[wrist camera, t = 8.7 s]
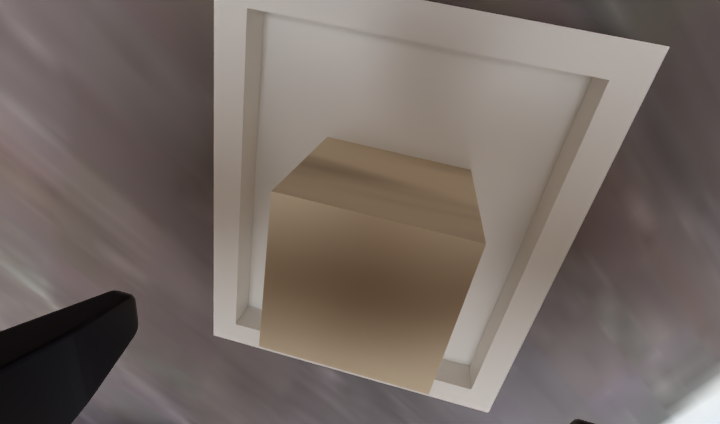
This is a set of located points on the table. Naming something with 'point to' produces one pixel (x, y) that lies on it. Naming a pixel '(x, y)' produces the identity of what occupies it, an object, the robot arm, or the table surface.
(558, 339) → the table surface
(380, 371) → the maple block
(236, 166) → the tray
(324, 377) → the table surface
